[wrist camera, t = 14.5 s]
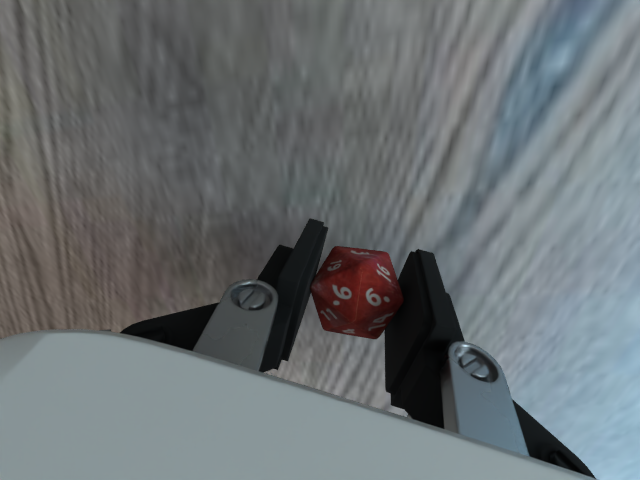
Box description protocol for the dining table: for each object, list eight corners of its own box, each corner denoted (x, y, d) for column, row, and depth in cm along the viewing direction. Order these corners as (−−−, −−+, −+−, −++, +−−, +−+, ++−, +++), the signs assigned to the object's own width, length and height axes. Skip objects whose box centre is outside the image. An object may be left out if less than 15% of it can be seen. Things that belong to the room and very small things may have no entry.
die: (377, 310, 12) (376, 372, 10) (308, 280, 12) (288, 334, 10) (415, 254, 11) (425, 308, 8) (337, 219, 11) (323, 262, 8)
